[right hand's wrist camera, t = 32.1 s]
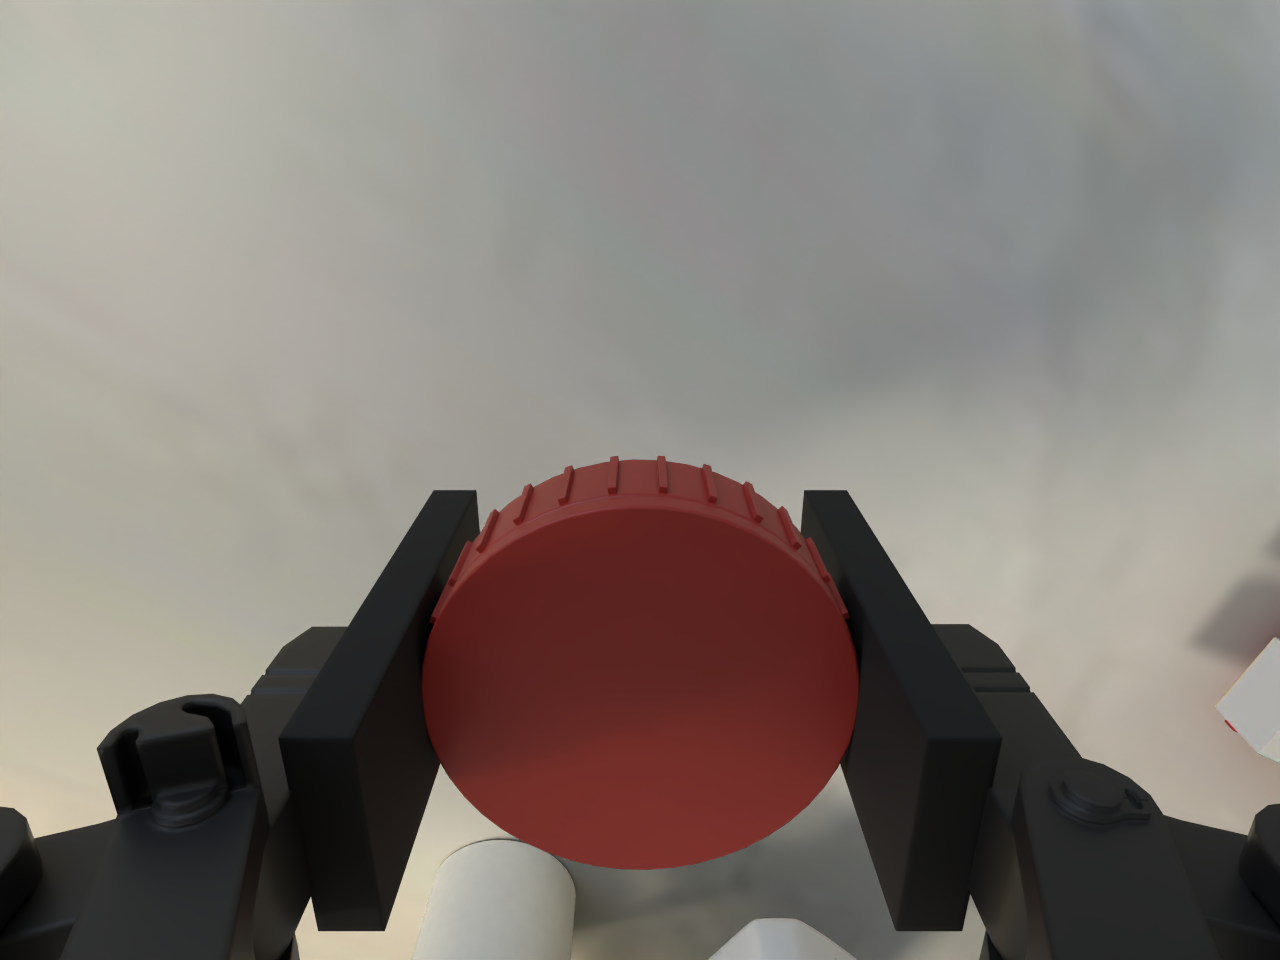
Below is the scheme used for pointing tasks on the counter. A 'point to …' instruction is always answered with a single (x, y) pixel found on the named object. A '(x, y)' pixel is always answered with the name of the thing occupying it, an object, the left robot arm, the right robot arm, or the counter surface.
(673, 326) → the counter surface
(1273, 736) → the toy
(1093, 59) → the counter surface
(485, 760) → the lid
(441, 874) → the jar
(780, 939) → the left robot arm
